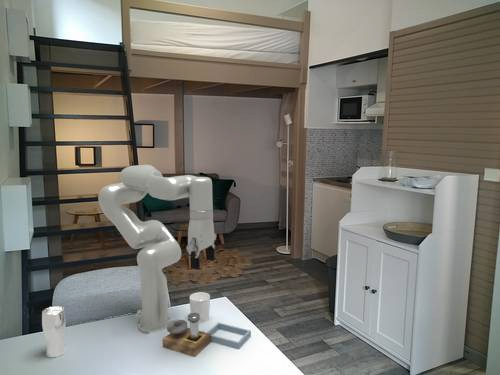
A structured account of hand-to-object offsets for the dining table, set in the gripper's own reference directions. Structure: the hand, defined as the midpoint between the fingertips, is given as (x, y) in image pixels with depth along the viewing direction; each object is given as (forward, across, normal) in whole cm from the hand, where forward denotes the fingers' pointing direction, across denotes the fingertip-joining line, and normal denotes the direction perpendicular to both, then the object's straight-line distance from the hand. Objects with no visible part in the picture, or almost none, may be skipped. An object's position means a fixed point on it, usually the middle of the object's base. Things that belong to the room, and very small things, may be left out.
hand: (203, 264), depth 131 cm
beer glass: (+29, +24, -43) cm, 57 cm away
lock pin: (+28, +4, -2) cm, 29 cm away
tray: (+29, -6, +6) cm, 30 cm away
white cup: (+29, -15, -11) cm, 34 cm away
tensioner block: (+29, +4, -6) cm, 30 cm away
